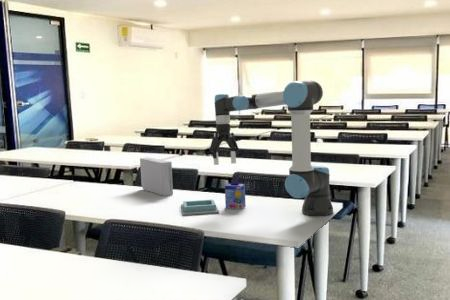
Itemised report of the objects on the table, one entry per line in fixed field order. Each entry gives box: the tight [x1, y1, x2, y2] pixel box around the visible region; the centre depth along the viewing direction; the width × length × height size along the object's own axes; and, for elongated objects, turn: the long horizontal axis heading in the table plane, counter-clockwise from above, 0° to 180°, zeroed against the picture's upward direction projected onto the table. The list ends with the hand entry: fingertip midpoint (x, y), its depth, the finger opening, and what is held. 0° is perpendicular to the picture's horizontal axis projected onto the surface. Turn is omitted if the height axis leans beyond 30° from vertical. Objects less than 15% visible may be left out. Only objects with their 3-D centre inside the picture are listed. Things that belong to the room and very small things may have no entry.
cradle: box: [180, 199, 220, 217], centre depth 257 cm, size 20×18×4 cm
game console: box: [139, 156, 174, 197], centre depth 301 cm, size 6×27×20 cm, turn 39°
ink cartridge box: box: [224, 180, 246, 210], centre depth 259 cm, size 10×6×14 cm, turn 76°
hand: (225, 164), depth 260 cm, fingers open, 13 cm apart
